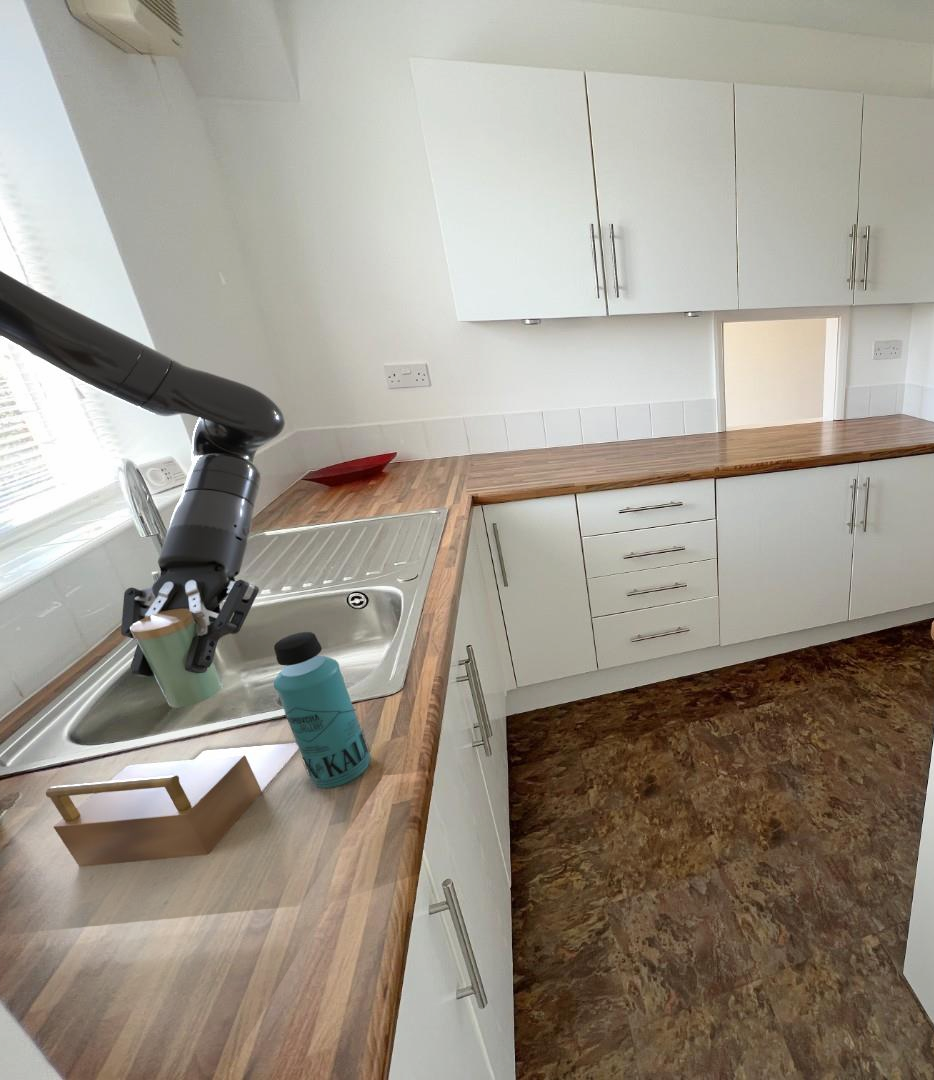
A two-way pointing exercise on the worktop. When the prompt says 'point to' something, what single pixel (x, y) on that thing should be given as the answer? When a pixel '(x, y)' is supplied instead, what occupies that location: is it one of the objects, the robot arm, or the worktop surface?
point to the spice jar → (174, 657)
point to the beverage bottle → (319, 712)
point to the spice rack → (165, 805)
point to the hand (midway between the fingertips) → (169, 673)
